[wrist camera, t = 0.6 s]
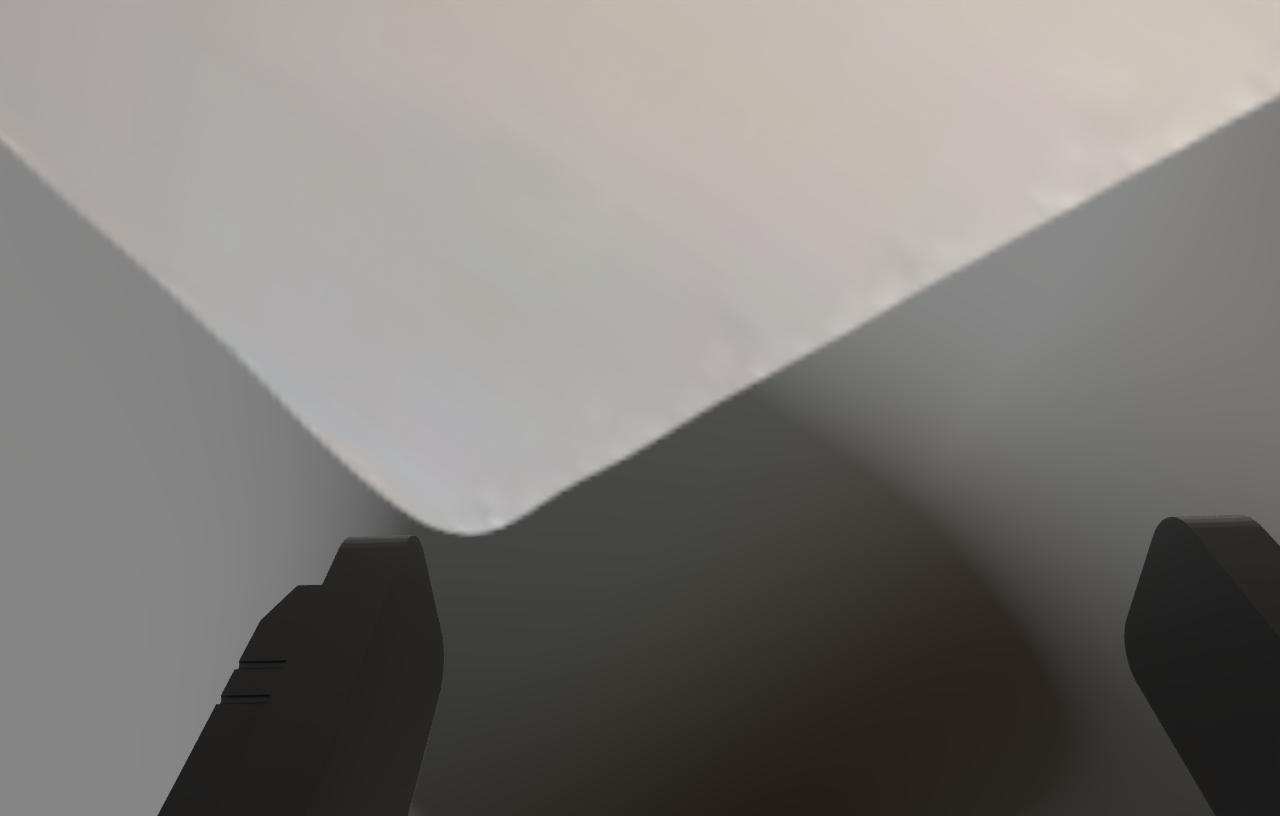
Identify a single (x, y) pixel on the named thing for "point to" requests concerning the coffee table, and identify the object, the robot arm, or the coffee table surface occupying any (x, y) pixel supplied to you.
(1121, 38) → the coffee table surface
